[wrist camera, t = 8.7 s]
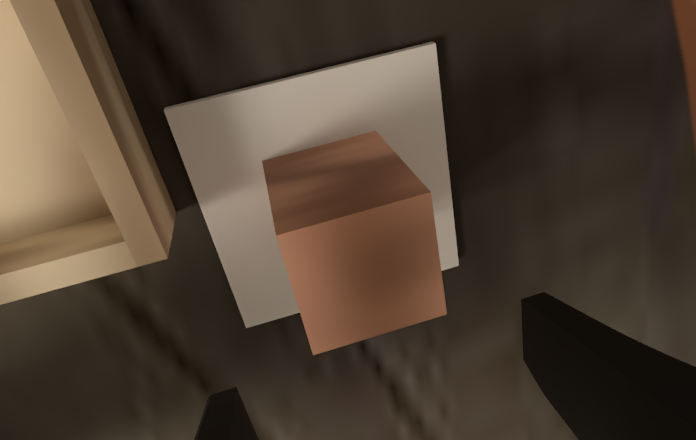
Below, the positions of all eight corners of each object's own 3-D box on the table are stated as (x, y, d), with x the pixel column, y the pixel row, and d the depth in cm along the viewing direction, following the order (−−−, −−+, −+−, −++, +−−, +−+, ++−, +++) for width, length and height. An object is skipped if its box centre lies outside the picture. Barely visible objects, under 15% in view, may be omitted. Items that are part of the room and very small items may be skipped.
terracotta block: (291, 258, 21) (313, 355, 16) (261, 160, 19) (275, 235, 14) (393, 229, 22) (446, 314, 16) (375, 130, 20) (430, 192, 14)
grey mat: (245, 322, 23) (246, 328, 22) (164, 107, 18) (163, 110, 18) (455, 261, 24) (459, 265, 23) (431, 41, 19) (435, 42, 19)
